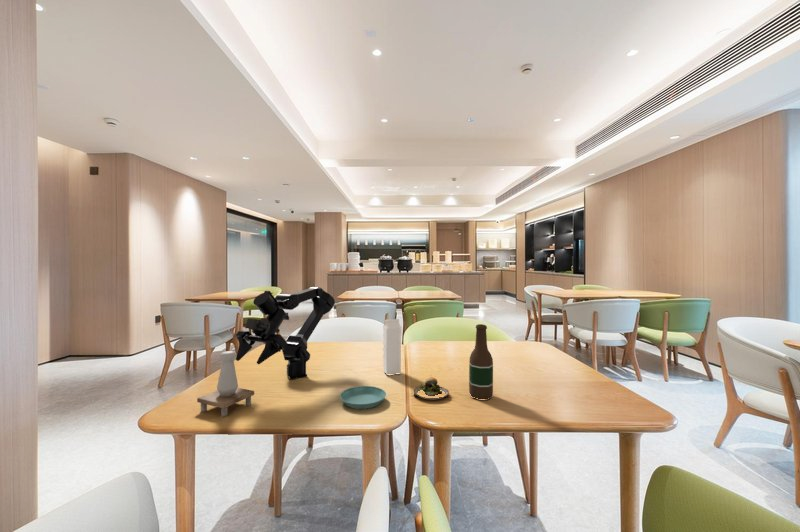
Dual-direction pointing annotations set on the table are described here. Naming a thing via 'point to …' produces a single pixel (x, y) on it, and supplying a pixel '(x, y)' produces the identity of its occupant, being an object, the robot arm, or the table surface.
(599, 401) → the table surface
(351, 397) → the saucer
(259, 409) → the table surface
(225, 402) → the small stand
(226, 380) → the salt shaker
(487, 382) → the beer bottle
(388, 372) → the milk
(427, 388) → the plate of food
